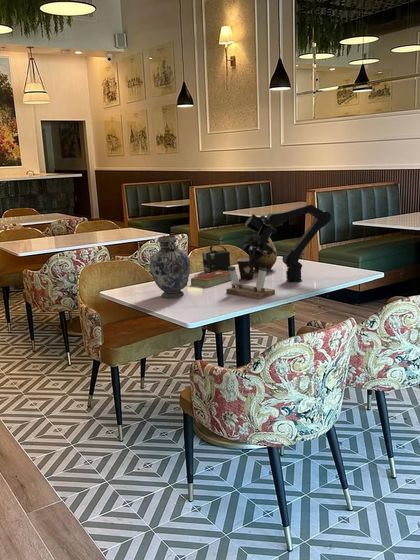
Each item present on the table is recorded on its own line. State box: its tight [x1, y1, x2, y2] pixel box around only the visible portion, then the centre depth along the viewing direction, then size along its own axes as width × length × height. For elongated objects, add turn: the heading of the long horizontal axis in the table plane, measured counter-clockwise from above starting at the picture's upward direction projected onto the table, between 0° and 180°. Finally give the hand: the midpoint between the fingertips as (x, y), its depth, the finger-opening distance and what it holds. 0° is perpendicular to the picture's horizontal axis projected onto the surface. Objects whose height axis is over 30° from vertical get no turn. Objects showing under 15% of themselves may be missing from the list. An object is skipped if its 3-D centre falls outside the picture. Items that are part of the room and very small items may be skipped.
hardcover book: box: [190, 271, 232, 288], centre depth 273 cm, size 12×21×4 cm, turn 138°
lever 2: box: [255, 267, 268, 289], centre depth 236 cm, size 2×3×9 cm, turn 41°
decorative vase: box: [149, 234, 191, 299], centre depth 247 cm, size 21×19×28 cm
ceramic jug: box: [248, 214, 278, 272], centre depth 292 cm, size 17×15×30 cm
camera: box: [202, 244, 231, 274], centre depth 299 cm, size 11×14×15 cm
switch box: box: [226, 283, 276, 300], centre depth 242 cm, size 11×20×4 cm, turn 42°
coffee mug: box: [236, 257, 262, 281], centre depth 273 cm, size 12×9×10 cm
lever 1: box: [228, 265, 241, 287], centre depth 244 cm, size 2×3×9 cm, turn 42°
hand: (249, 264), depth 251 cm, fingers closed
